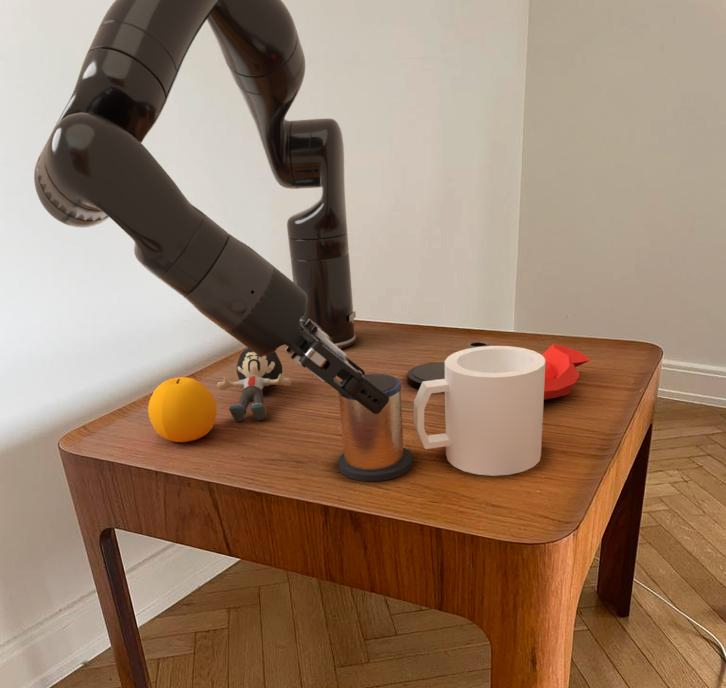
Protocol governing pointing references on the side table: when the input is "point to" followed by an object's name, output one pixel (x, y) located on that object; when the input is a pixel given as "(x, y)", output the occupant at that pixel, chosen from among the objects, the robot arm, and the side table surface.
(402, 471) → the trivet
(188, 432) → the orange
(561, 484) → the side table surface
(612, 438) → the side table surface
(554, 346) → the animal figurine
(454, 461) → the mug
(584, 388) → the side table surface
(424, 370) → the disc
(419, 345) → the side table surface
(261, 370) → the figurine
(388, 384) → the pot
